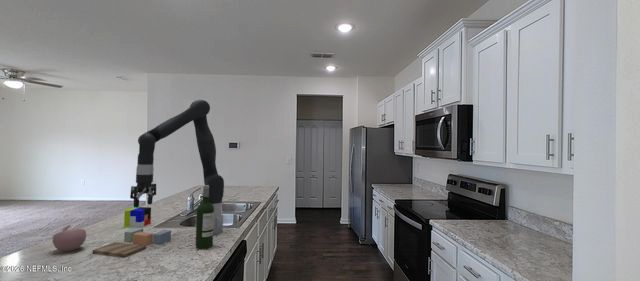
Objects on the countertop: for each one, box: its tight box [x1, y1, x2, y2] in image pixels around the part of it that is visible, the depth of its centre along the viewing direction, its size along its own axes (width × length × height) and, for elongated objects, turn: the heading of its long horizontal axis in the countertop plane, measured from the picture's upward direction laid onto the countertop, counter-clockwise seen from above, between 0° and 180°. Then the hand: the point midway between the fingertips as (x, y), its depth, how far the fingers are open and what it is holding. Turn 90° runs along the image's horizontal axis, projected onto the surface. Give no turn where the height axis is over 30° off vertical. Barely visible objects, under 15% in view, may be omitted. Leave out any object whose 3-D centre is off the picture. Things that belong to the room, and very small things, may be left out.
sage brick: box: [123, 227, 144, 243], centre depth 161 cm, size 8×4×5 cm, turn 169°
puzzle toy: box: [123, 206, 152, 229], centre depth 188 cm, size 10×10×10 cm
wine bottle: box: [195, 184, 214, 250], centre depth 154 cm, size 8×8×30 cm
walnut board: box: [92, 242, 147, 259], centre depth 144 cm, size 17×12×2 cm
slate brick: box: [152, 229, 172, 246], centre depth 159 cm, size 8×4×5 cm, turn 167°
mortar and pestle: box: [52, 224, 87, 252], centre depth 143 cm, size 12×12×12 cm
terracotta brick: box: [132, 231, 154, 247], centre depth 155 cm, size 8×4×5 cm, turn 77°
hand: (143, 205), depth 156 cm, fingers open, 8 cm apart
